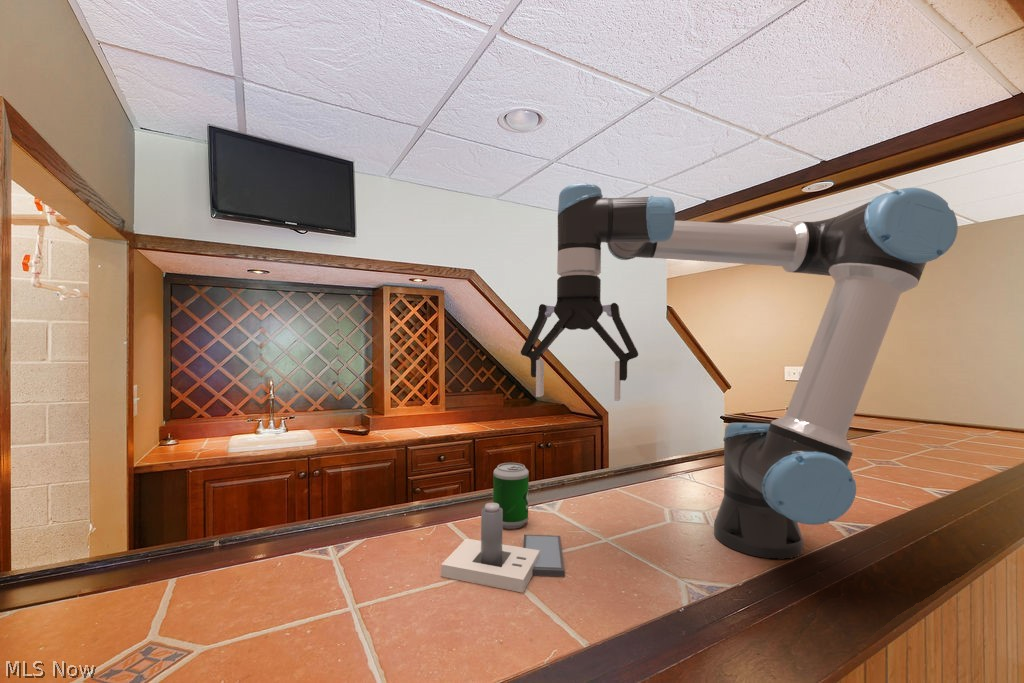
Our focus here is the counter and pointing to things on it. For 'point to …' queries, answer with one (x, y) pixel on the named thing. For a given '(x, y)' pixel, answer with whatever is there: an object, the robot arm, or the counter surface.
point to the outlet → (508, 577)
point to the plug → (491, 534)
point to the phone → (546, 554)
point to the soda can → (511, 493)
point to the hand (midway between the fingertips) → (577, 398)
